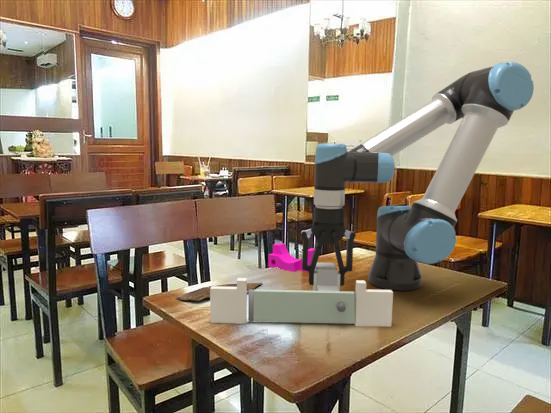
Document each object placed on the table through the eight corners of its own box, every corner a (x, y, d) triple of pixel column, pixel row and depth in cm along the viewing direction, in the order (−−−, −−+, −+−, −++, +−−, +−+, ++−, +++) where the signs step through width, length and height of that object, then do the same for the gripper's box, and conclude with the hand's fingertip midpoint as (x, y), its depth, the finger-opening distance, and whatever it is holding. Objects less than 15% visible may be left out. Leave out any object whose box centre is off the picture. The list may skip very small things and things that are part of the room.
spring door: (352, 321, 95) (353, 291, 94) (354, 325, 92) (355, 295, 91) (248, 318, 95) (248, 289, 94) (247, 323, 93) (247, 293, 92)
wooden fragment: (183, 304, 103) (183, 300, 103) (171, 294, 113) (170, 291, 113) (273, 289, 116) (273, 285, 116) (255, 281, 126) (255, 278, 126)
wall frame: (389, 323, 95) (391, 281, 94) (391, 327, 93) (393, 283, 92) (211, 319, 96) (211, 277, 95) (210, 323, 94) (210, 280, 93)
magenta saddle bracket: (268, 267, 140) (268, 245, 139) (278, 263, 145) (279, 242, 144) (306, 275, 131) (307, 252, 130) (316, 271, 136) (317, 248, 135)
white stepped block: (332, 291, 111) (333, 262, 110) (339, 308, 100) (340, 276, 98) (314, 291, 111) (314, 262, 110) (318, 308, 100) (319, 275, 98)
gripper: (363, 205, 106) (359, 293, 109) (291, 203, 107) (290, 291, 110) (368, 209, 99) (364, 303, 102) (292, 207, 99) (290, 301, 102)
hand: (325, 297), depth 106 cm, fingers closed on white stepped block, 5 cm apart
